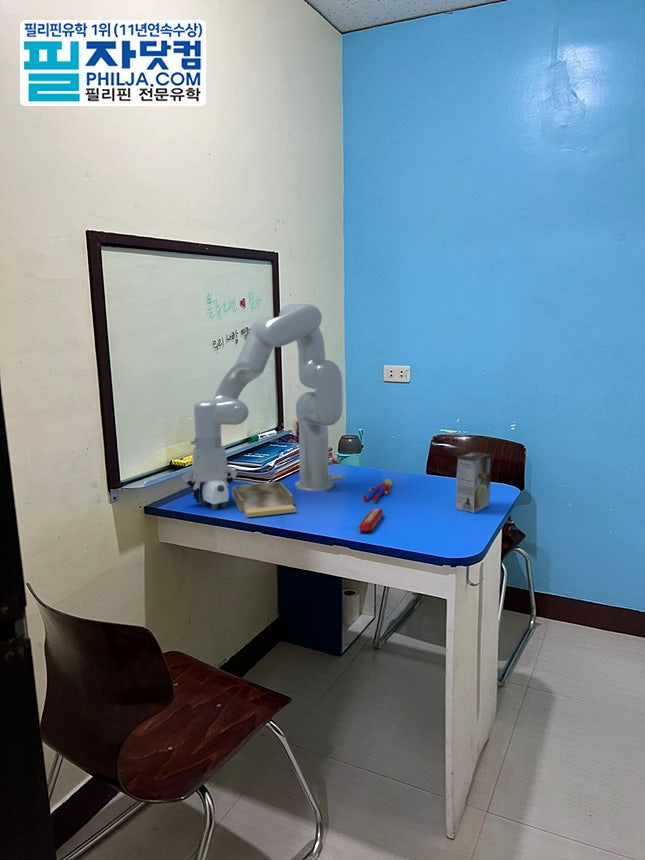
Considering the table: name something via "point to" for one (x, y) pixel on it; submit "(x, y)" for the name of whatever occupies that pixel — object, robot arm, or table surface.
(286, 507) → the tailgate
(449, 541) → the table surface
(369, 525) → the candy bar
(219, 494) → the giant panda
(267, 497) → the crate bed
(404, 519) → the table surface
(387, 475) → the table surface
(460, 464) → the coffee box
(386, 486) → the character figure
